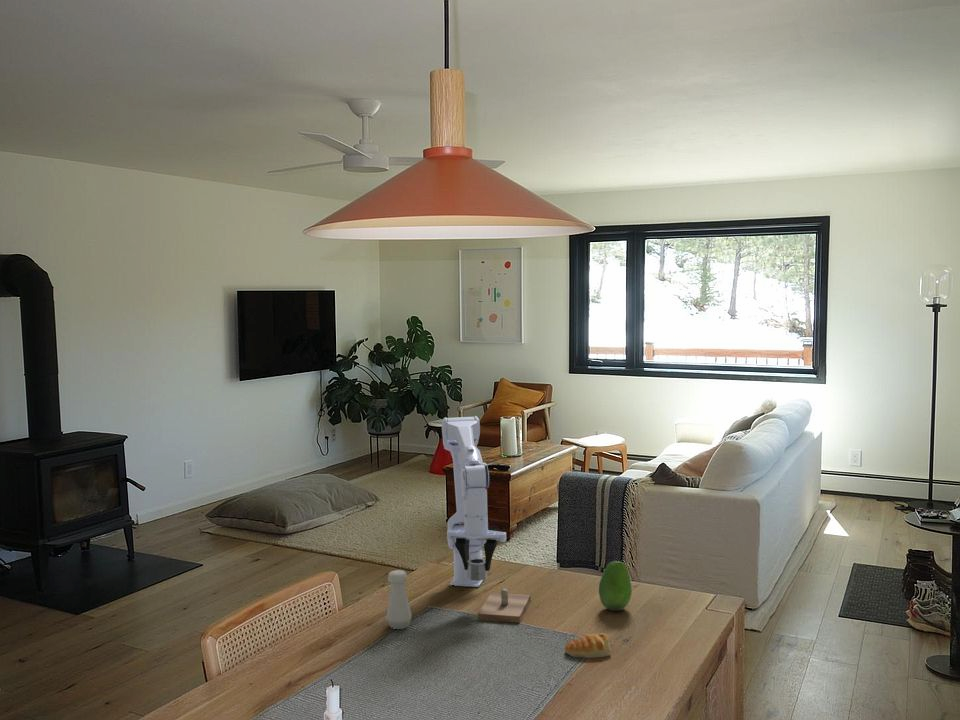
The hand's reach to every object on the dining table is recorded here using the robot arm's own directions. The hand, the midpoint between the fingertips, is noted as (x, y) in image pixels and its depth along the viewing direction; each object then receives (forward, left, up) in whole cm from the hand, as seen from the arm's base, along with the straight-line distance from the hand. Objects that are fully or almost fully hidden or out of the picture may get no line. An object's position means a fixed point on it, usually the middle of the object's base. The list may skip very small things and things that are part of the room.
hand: (477, 569), depth 200 cm
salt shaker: (+15, -15, -10) cm, 23 cm away
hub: (0, 0, -2) cm, 2 cm away
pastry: (+21, +30, -10) cm, 37 cm away
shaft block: (+1, +7, -10) cm, 12 cm away
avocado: (-4, +33, -10) cm, 34 cm away
